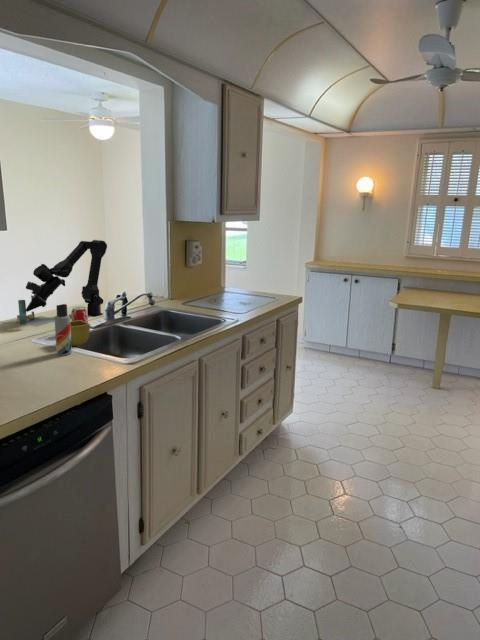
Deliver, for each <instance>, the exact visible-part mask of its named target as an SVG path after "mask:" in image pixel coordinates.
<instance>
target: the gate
mask: <svg viewBox="0 0 480 640" xmlns="http://www.w3.org/2000/svg"><path fill="white" fill-rule="evenodd" d="M17 302H18V315H19V316H20V323H19V324H23V325H26V324H25V323H27V321H28V320H30V319H33V315H32V313H31V314H28V315H27V311H26V308H27V305H26V304H27V303H26V300H25V299H19V300H18V301H17Z"/></svg>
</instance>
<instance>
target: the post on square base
mask: <svg viewBox="0 0 480 640" xmlns="http://www.w3.org/2000/svg"><path fill="white" fill-rule="evenodd" d="M31 315H33V319H30V320H37V319H39V318H37V317H38V316H35V311H33V310H32V311H31Z"/></svg>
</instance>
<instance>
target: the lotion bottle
mask: <svg viewBox="0 0 480 640" xmlns="http://www.w3.org/2000/svg"><path fill="white" fill-rule="evenodd" d="M55 308H56V315H55V316H54V319H55V322H54V331H55V332H54V333H55V348H56V350H55V351H56V354H57V356H60V357H62V356H69V355H71V354H72V353H73V347H72V346H73V345H72V342H71V323H70V322H71V315H69V314H68V305H67V303H62V304H58V305H56V307H55Z"/></svg>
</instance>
